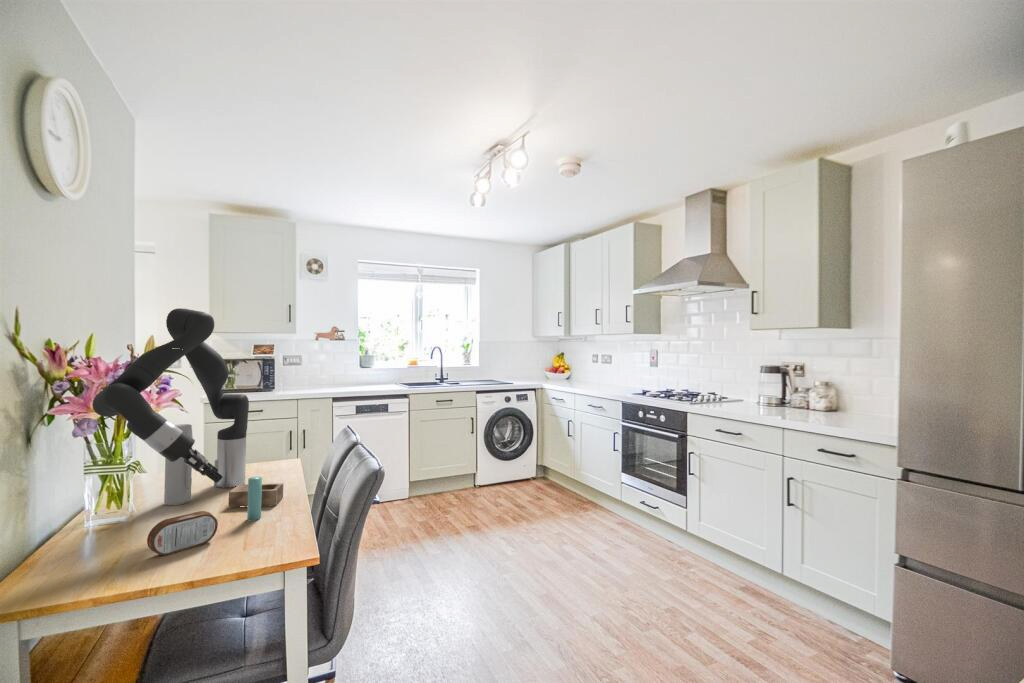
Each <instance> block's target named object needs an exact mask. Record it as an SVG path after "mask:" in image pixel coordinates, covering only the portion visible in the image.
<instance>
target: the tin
mask: <svg viewBox="0 0 1024 683" xmlns="http://www.w3.org/2000/svg"><path fill="white" fill-rule="evenodd" d="M218 525H219V524H218V519H217V518H216V516H214V515H213V514H212V513H211V512H209V511H206V510H201V511H196V512H191V513H187V514H183V515H179V516H174V517H169V518H165V519H163V520H160V522H158V523H157V524H155V525H154V526H153V528H151V530H150V531H149V532H148V536H147V539H146V543H147V547H148V548H149V549H150V551H152V552H154V553H155V554H157V555H161V556H167V555H166V554H168V555H171V553H172V554H175V553H174V552H176V553H178V551H179V552H181V551H185V550H189V549H192V548H196V547H200V546H203V545H205V544H207V543H208V542H209V541H210V540H212V538H213V537H214V536H215V535H216V533H217V531H218Z"/></svg>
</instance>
